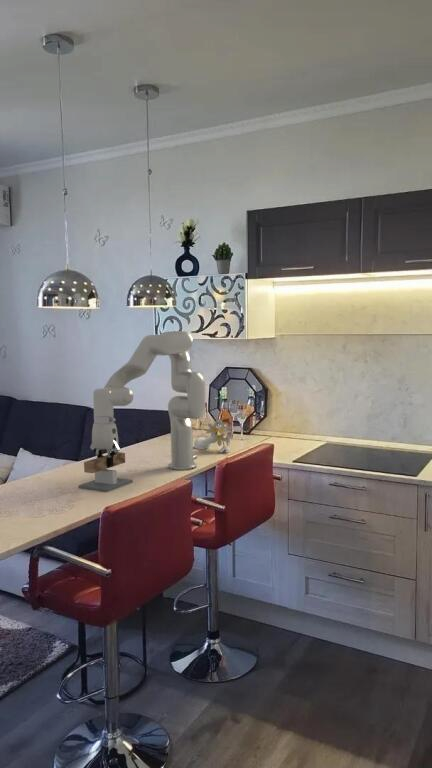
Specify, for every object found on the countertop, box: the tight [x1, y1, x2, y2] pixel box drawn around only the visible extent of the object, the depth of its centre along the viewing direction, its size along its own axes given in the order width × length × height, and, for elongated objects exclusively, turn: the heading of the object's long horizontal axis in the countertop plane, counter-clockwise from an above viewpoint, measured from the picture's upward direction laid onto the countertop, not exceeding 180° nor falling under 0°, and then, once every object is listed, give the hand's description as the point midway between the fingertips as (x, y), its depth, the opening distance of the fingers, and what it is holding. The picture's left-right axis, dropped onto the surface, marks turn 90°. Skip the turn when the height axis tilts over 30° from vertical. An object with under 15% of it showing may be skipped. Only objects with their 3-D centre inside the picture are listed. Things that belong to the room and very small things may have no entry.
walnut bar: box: [83, 451, 126, 474], centre depth 232 cm, size 20×4×4 cm, turn 151°
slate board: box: [78, 468, 134, 493], centre depth 232 cm, size 16×14×6 cm
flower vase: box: [193, 417, 234, 453], centre depth 298 cm, size 13×18×25 cm
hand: (105, 466), depth 232 cm, fingers closed on walnut bar, 4 cm apart
